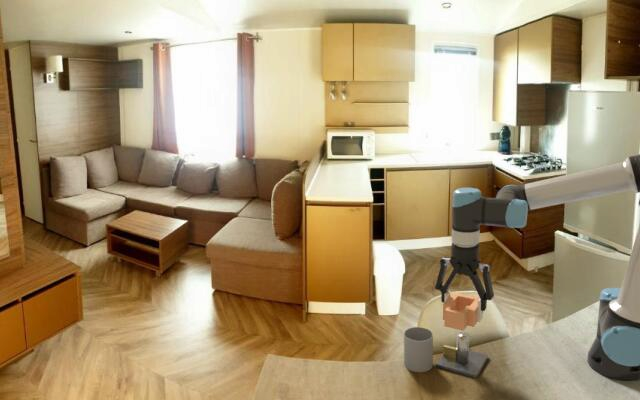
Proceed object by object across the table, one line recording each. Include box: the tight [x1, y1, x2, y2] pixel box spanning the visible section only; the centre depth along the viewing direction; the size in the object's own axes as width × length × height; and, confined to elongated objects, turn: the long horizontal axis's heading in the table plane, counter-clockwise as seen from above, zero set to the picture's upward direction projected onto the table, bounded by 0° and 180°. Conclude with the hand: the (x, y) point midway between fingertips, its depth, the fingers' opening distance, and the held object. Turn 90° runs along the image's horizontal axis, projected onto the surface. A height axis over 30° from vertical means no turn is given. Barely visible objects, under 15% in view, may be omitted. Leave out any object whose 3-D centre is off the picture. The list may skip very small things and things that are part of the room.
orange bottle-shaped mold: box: [442, 291, 480, 332], centre depth 154 cm, size 12×9×5 cm
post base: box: [435, 331, 489, 379], centre depth 158 cm, size 12×12×9 cm
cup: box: [403, 326, 434, 373], centre depth 158 cm, size 8×8×10 cm
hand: (463, 316), depth 156 cm, fingers closed on orange bottle-shaped mold, 9 cm apart
